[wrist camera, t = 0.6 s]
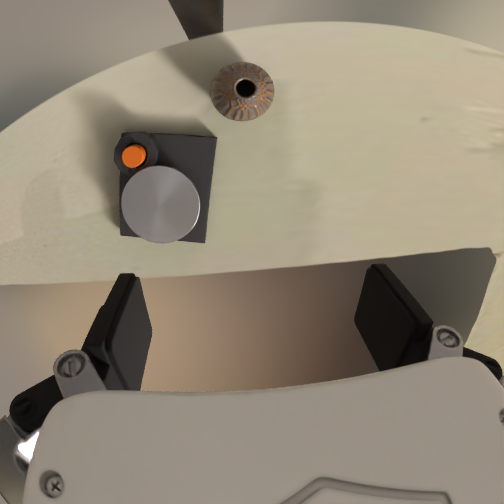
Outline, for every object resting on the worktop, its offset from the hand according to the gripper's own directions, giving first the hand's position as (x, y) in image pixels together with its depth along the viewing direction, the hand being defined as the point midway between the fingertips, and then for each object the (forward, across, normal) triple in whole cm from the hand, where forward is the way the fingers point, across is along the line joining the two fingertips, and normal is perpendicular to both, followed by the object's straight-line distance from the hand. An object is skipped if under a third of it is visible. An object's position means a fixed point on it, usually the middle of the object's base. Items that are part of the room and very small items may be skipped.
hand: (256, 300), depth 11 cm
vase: (+27, -1, -9) cm, 29 cm away
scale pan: (+24, +9, +4) cm, 26 cm away
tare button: (+25, +12, -3) cm, 27 cm away
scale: (+27, +9, +2) cm, 29 cm away
